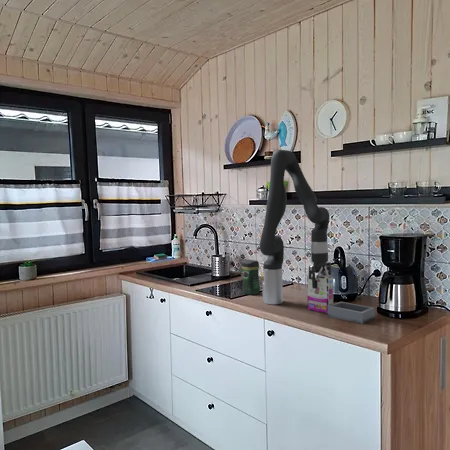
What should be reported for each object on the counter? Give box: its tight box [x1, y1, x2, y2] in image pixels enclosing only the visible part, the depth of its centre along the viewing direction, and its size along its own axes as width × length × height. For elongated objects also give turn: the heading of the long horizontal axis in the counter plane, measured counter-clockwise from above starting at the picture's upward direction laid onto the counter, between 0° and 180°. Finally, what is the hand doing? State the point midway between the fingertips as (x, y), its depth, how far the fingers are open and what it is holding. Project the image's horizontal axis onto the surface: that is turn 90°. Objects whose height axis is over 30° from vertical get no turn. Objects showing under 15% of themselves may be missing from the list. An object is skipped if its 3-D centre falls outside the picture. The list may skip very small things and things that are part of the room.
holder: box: [327, 301, 376, 325], centre depth 179 cm, size 16×10×4 cm, turn 43°
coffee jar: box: [241, 259, 261, 295], centre depth 228 cm, size 10×8×19 cm
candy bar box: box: [306, 274, 334, 315], centre depth 190 cm, size 11×5×16 cm, turn 45°
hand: (320, 286), depth 190 cm, fingers open, 8 cm apart
